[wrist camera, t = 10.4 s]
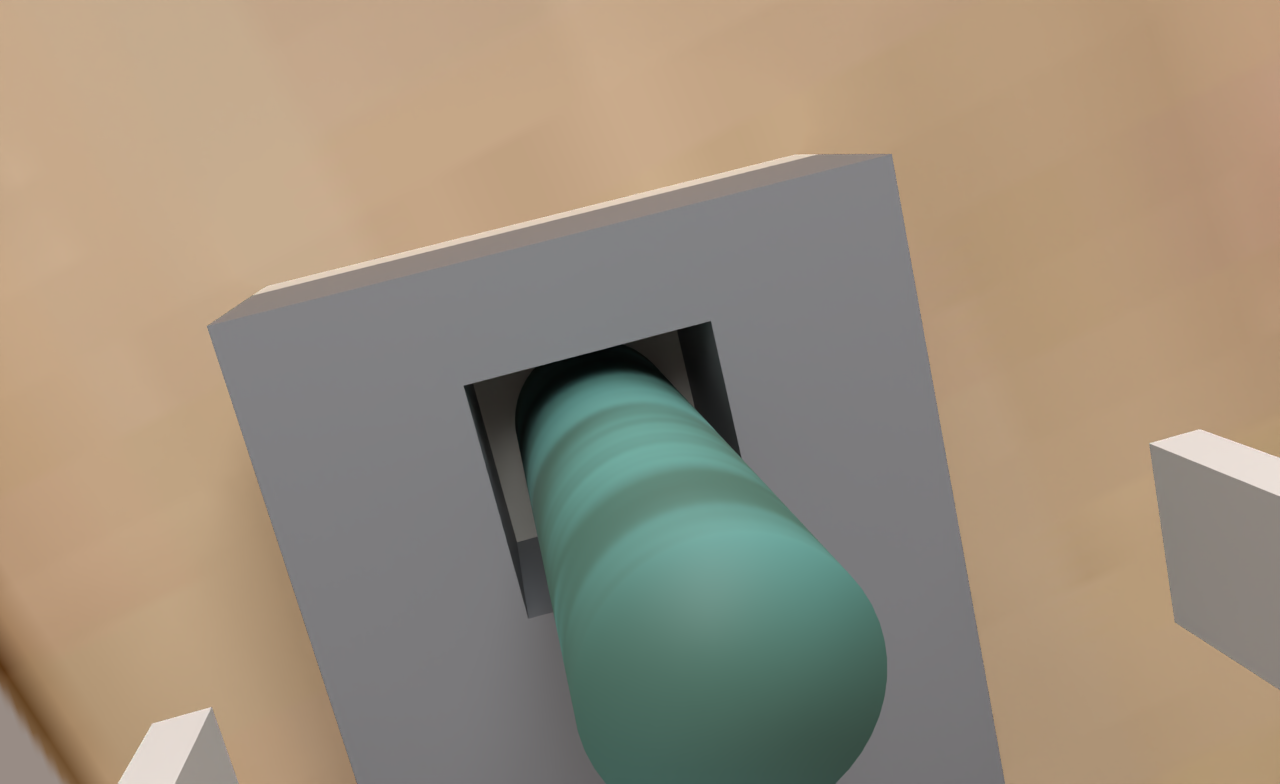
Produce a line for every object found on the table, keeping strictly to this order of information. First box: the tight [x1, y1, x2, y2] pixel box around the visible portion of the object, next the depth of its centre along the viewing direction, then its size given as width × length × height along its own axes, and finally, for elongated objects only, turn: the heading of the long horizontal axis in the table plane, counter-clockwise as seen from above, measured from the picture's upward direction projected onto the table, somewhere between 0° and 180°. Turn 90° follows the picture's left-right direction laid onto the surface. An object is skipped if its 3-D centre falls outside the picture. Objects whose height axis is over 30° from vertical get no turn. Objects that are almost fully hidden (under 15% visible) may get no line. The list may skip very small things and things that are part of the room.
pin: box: [515, 344, 887, 784], centre depth 22 cm, size 4×4×15 cm
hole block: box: [207, 154, 1005, 784], centre depth 29 cm, size 20×14×7 cm
